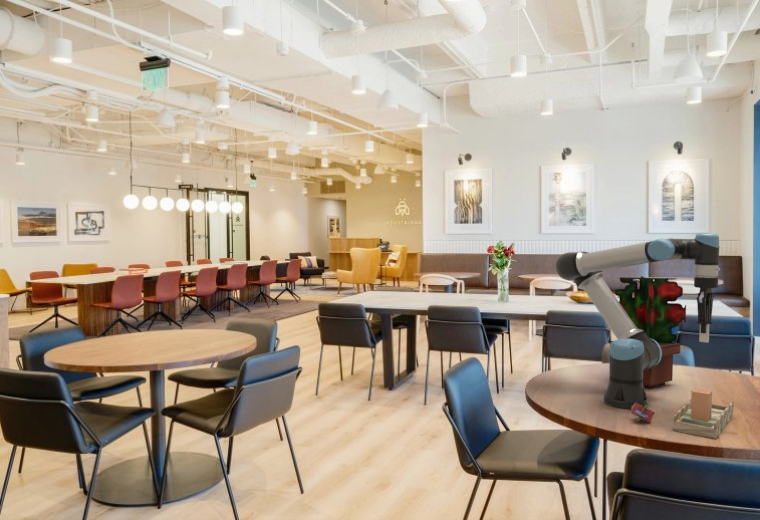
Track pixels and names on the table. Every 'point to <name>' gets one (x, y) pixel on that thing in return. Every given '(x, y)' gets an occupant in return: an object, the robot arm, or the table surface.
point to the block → (701, 404)
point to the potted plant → (655, 320)
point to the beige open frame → (703, 428)
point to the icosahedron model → (642, 412)
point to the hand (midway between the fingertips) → (703, 341)
